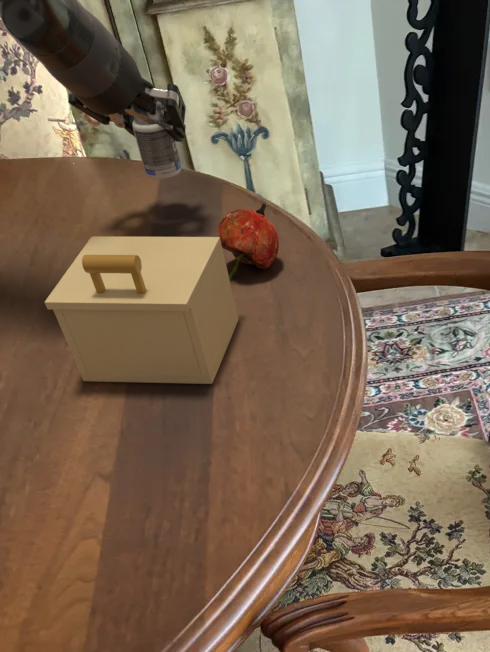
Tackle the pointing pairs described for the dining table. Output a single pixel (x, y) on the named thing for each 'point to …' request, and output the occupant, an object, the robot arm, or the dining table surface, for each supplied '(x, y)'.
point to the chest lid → (135, 274)
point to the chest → (156, 337)
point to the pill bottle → (156, 149)
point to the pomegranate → (249, 237)
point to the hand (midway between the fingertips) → (161, 133)
